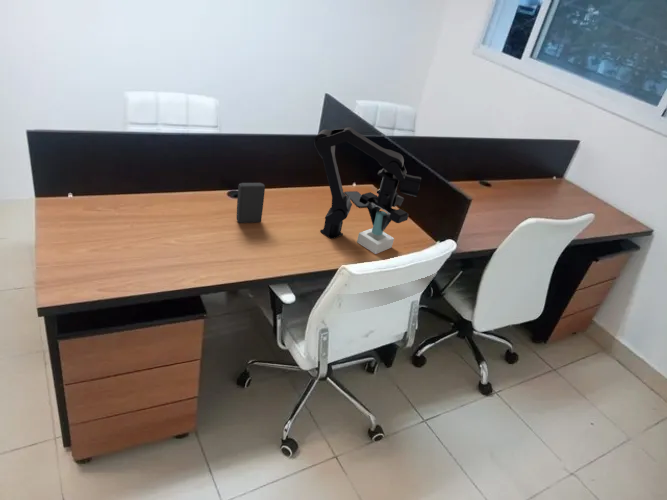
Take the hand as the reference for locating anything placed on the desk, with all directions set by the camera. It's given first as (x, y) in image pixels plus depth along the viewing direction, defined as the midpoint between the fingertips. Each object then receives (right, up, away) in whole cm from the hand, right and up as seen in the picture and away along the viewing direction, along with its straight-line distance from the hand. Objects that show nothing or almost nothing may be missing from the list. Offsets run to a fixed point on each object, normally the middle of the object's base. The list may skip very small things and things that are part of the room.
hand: (378, 227), depth 175 cm
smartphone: (-6, +14, +36) cm, 39 cm away
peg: (0, -2, +1) cm, 2 cm away
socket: (-1, -6, +4) cm, 7 cm away
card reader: (-48, +3, +3) cm, 48 cm away
